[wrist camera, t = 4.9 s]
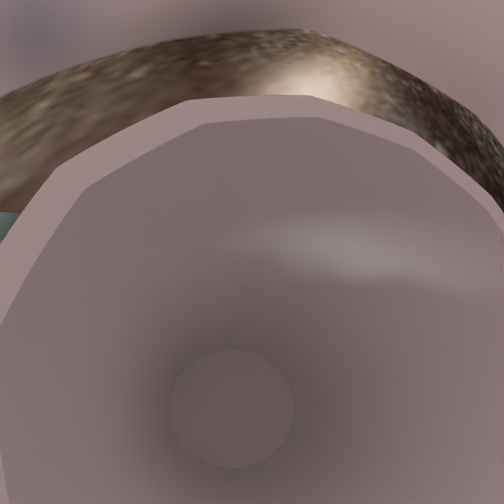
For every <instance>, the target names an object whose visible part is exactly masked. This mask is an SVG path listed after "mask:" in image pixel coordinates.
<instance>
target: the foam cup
mask: <svg viewBox="0 0 504 504" xmlns="http://www.w3.org/2000/svg"><path fill="white" fill-rule="evenodd" d="M0 504H504V213H503V212H502V210H501V209H500V207H499V206H498V204H497V203H496V202H495V200H494V199H493V198H492V196H491V195H490V194H489V193H488V192H487V191H485V190H484V189H483V188H482V187H481V186H480V185H479V184H478V183H477V182H475V181H474V180H473V179H472V178H471V177H470V176H469V175H467V174H466V173H465V172H464V171H463V170H461V169H460V168H459V167H458V166H457V165H455V164H454V163H453V162H452V161H450V160H449V159H448V158H447V157H445V156H444V155H443V154H442V153H440V152H439V151H438V150H436V149H435V148H434V147H433V146H431V145H430V144H429V143H427V142H426V141H424V140H423V139H422V138H420V137H419V136H418V135H416V134H415V133H413V132H412V131H409V130H407V129H404V128H402V127H400V126H397V125H395V124H392V123H390V122H387V121H384V120H382V119H379V118H376V117H374V116H371V115H368V114H366V113H363V112H360V111H357V110H354V109H351V108H348V107H345V106H342V105H339V104H336V103H333V102H330V101H326V100H323V99H320V98H316V97H313V96H305V95H264V96H237V97H220V98H207V99H196V100H186V101H184V102H182V103H179V104H177V105H175V106H172V107H170V108H168V109H166V110H163V111H161V112H159V113H157V114H154V115H152V116H150V117H148V118H146V119H144V120H142V121H140V122H138V123H136V124H134V125H132V126H129V127H128V128H126V129H124V130H122V131H120V132H118V133H116V134H114V135H112V136H110V137H108V138H106V139H105V140H103V141H101V142H99V143H97V144H95V145H94V146H92V147H90V148H88V149H87V150H85V151H83V152H81V153H80V154H78V155H76V156H75V157H73V158H71V159H70V160H68V161H66V162H65V163H63V164H61V165H60V166H58V167H57V168H56V169H55V170H54V171H53V173H52V174H51V175H50V176H49V178H48V179H47V180H46V181H45V183H44V184H43V185H42V186H41V188H40V189H39V190H38V191H37V193H36V194H35V195H34V197H33V198H32V199H31V201H30V202H29V203H28V205H27V206H26V207H25V209H24V210H23V212H22V213H21V214H20V216H19V217H18V219H17V220H16V222H15V223H14V224H13V226H12V227H11V229H10V230H9V232H8V233H7V235H6V236H5V238H4V240H3V241H2V243H1V244H0Z"/></svg>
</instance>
